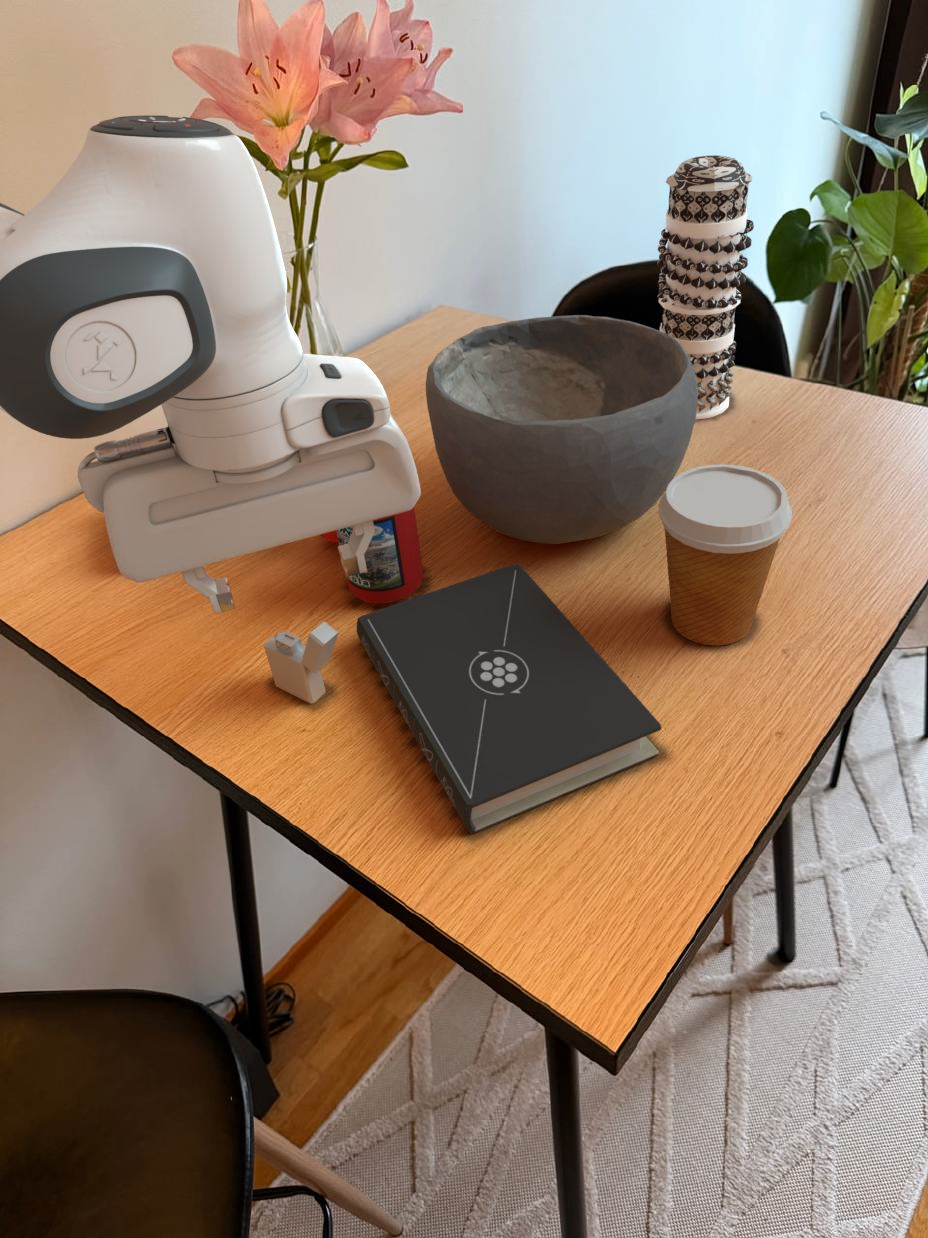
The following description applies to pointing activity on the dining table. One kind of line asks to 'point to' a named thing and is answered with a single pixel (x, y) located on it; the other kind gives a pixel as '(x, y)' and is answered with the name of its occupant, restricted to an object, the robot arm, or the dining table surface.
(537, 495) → the bowl
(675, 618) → the disposable coffee cup
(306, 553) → the dining table surface
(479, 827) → the book
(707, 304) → the patterned white cylinder
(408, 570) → the beverage can
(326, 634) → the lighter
